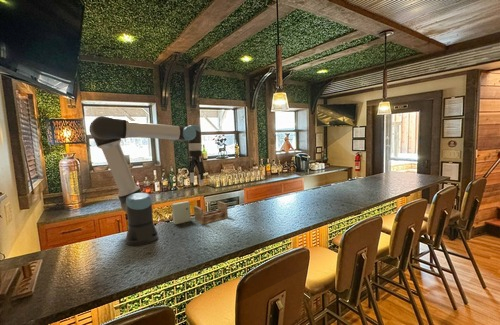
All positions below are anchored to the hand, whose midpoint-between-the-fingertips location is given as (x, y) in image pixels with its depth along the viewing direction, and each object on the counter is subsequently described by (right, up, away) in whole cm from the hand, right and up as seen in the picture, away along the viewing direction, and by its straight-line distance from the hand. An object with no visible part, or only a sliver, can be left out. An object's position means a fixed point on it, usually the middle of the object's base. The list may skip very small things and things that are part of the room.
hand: (196, 183), depth 158 cm
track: (+10, -22, -2) cm, 24 cm away
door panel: (-8, -23, -5) cm, 25 cm away
